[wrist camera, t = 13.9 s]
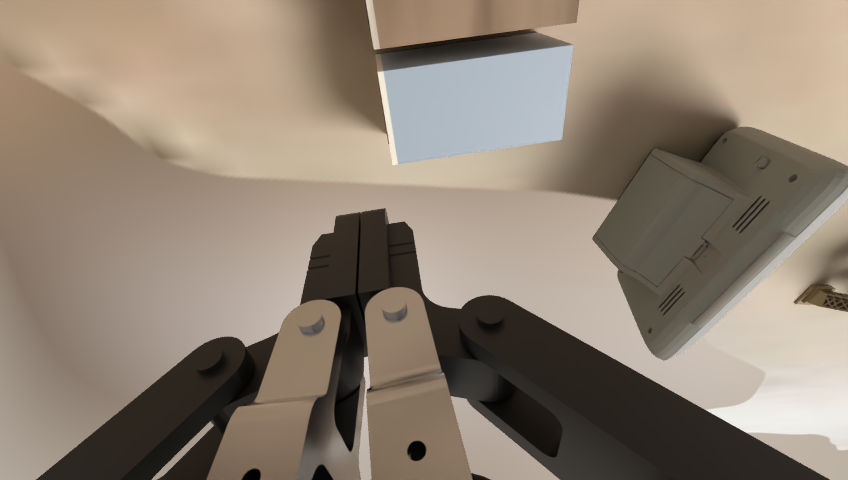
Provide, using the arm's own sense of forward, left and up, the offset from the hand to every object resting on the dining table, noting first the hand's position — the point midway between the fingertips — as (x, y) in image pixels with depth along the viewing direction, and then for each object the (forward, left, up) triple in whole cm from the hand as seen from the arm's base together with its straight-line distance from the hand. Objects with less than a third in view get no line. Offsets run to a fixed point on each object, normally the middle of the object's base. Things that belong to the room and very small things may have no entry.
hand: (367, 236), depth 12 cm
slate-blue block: (-1, 0, -13) cm, 13 cm away
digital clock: (-23, +12, -15) cm, 30 cm away
